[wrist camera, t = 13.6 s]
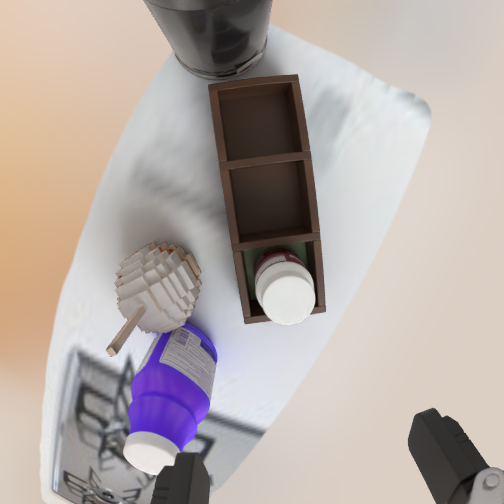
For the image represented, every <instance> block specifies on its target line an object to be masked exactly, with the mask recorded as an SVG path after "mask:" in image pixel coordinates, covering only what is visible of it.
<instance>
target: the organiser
mask: <svg viewBox="0 0 504 504" xmlns="http://www.w3.org/2000/svg"><path fill="white" fill-rule="evenodd" d="M208 89H209V96H210V103H211V111H212V118H213V125H214V132H215V139H216V146H217V153H218V160H219V162H220V163H219V166H220V173H221V180H222V186H223V193H224V200H225V206H226V212H227V219H228V225H229V232H230V238H231V243H232V250H233V257H234V263H235V269H236V275H237V281H238V287H239V293H240V299H241V305H242V311H243V317H244V323H245V324H251V323H258V322H266V321H272V320H271V319H270V318H268V316H267V315H266V314H265V312H264V310H263V308H262V306H261V305H260V303H259V302H258V299H257V297H256V291H255V275H254V268H255V263H256V261H257V259H258V257H259V256H260V255H261V253H262V252H264V251H265V250H267V249H269V248H272V247H277V246H281V247H286V248H289V249H291V250H292V251H294V252H295V253H296V254H297V255H298V257H299V258H300V259H301V261H302V262H303V264H304V266H305V267H306V269H307V270H308V271H309V273H310V274H311V277H312V280H313V284H314V293H315V305H314V308H313V310H312V312H311V313H310V315H311V314H317V313H323V312H326V306H325V289H324V274H323V261H322V249H321V240H320V239H321V238H320V232H319V231H320V227H319V218H318V208H317V199H316V191H315V182H314V174H313V167H312V160H311V151H310V145H309V138H308V132H307V125H306V119H305V113H304V107H303V101H302V95H301V89H300V84H299V78H298V74H294V75H280V76H269V77H259V78H251V79H243V80H235V81H228V82H222V83H216V84H210V85H208Z"/></svg>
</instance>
